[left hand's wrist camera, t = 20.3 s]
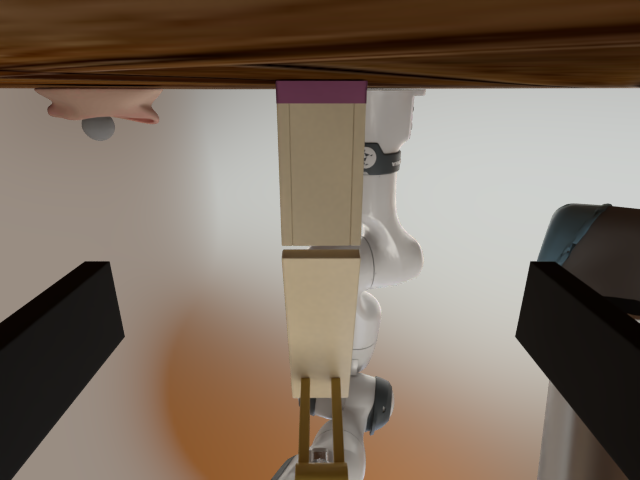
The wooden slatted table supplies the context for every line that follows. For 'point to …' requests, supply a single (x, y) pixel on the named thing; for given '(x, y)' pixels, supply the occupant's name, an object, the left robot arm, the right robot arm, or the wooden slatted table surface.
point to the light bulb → (98, 127)
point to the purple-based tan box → (321, 161)
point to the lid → (321, 342)
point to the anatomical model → (102, 103)
